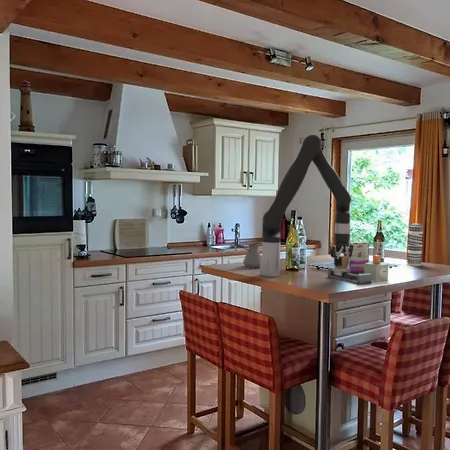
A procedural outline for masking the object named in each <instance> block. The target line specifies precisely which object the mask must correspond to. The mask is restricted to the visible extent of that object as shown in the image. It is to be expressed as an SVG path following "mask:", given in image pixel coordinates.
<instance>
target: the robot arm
mask: <svg viewBox="0 0 450 450" xmlns="http://www.w3.org/2000/svg"><path fill="white" fill-rule="evenodd" d="M312 162H313V164H314V165H315V167H316V168H317V170H318V173H320V175H321V178H322V179H323V181H324V184H326V186H327V188H328V190H329V191H330V192H331V193H332V195H333V197H334V199H335V209H336V210H335V211H336V213H335V224H334V236H333V237H334V245H330V246H329V251H330V252H329V253H330V258H332V259H333V265H334V267H335V266H339V259H338V258H339V256H340V255H342V254H343V256H348V259H349V257H352V253H353V247H354V246H353V245H349V242H351V239H350V238H351V213H350V211H351V210H350V207H351V202H352V196H351V195H350V193H349V191H348V190H347V189H346V187H345V186H344V184H343V182H342V180H341V178H340V177H339V175H338V173H337V172H336V170H335V168H334V167H333V166H332V165H331V163H330V162H329V161H328V159H327V157H326V156H325V154H324V152H323V150H322V140H321V138H320V136H318V135H317V134H309V135H307V136H306V137H305V138H304V139H303V141H302V144H301V147H300V150H299V152H298V154H297V157H296V158H295V160H294V161H293V163H292V164H291V166H290V167H289V168H288V170H287V171H286V173H285V175H284V177H283V179H282V181H281V183H280V185H279V188H278V190H277V193H276V195H275V198H274V200H273V202H272V204H271V205H270V207H269V209H268V210H266V211H265V213H264V214H263V216H262V230H261V231H262V233H261V236H262V238H261V239H262V242H261V243H262V244H261V249H262V250H261V257H260V268H259V275H260V276H263V277H267V278H268V277H269V278H271V277H272V278H273V277H274V278H275V277H280V273H281V268H280V267H281V239H282V238H281V224H282V222H283V218H284V217H285V216H284V215H285V214H286V211H287V209H288V208H289V205H290V204H291V202H292V201H293V200H294V198H295V196H296V195H297V193H298V191H299V190H300V188H301V185H302V184H303V182H304V180H305V177H306V175H307V172H308V170H309V167H310V165H311V163H312ZM347 265H348V261H347Z"/></svg>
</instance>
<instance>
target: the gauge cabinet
mask: <svg viewBox="0 0 450 450" xmlns="http://www.w3.org/2000/svg"><path fill="white" fill-rule="evenodd" d="M369 273H370V274H372V282H382V281H389V279H388V278H389V264H388V263H383V262H380V264H373V261H372V262H370V261H369V263H365V265H364V273H363V274H369Z"/></svg>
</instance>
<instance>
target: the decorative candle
mask: <svg viewBox="0 0 450 450" xmlns="http://www.w3.org/2000/svg"><path fill="white" fill-rule="evenodd" d="M408 226H409V229H408V233H407V238H408V239H407V246H408V247H407V249H408V250H407V253H406V254H407V258H406V265H408V266H412V267H413V266H415V267H419V266H420V267H421V266H422V264H423V262H422V261H423V259H422V258H423V251H422V249H423V248H422V247H423V245H424V243H423V242H424V237H423V236H425V235H424V233H423V232H424V231H423V230H424V228H423V227H424V225H422V224H421V223H411V224H410V225H408Z"/></svg>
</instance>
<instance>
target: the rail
mask: <svg viewBox="0 0 450 450" xmlns="http://www.w3.org/2000/svg"><path fill="white" fill-rule="evenodd" d="M327 277H328V278H332V279H335V280H339V281H343V282H347V283H352V284H353V285H359V286H361V285H363V286H364V285H371V284H372V283H373V281H372V274H370V273H369V274H364V273H358V274H357V273H347V272H343V276H338V275H334V274H333V271H332V267H328V268H327Z"/></svg>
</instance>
